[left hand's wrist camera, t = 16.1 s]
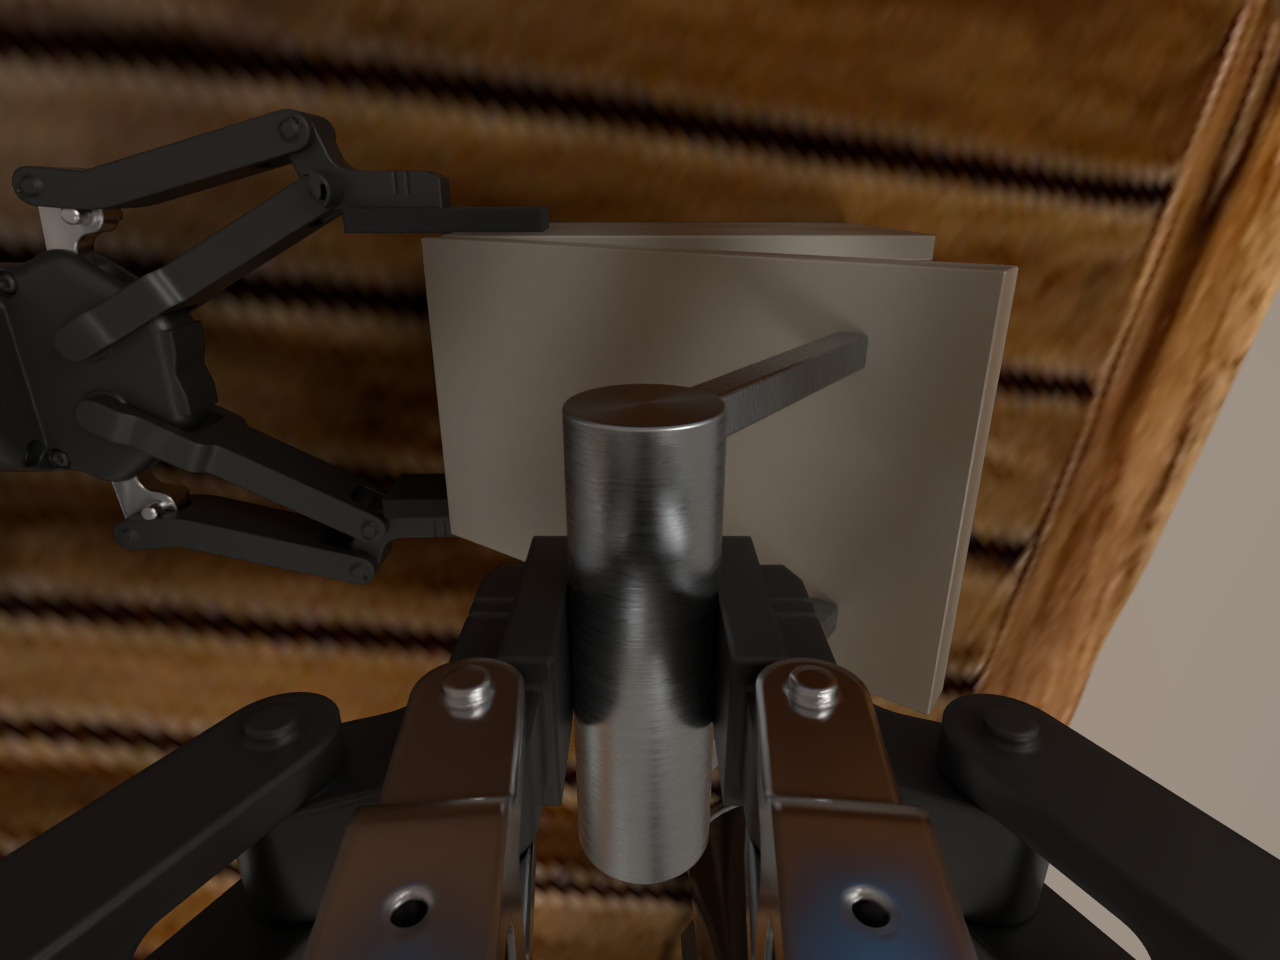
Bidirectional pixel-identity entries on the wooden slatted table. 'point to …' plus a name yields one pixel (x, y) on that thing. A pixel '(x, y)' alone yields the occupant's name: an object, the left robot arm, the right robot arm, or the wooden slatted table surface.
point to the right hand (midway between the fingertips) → (552, 365)
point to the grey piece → (713, 475)
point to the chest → (741, 237)
